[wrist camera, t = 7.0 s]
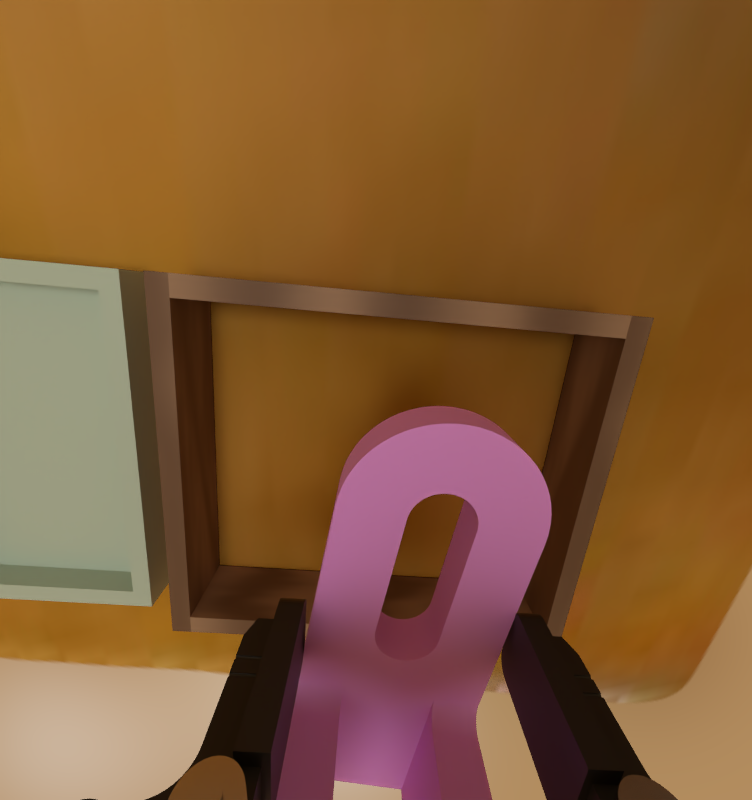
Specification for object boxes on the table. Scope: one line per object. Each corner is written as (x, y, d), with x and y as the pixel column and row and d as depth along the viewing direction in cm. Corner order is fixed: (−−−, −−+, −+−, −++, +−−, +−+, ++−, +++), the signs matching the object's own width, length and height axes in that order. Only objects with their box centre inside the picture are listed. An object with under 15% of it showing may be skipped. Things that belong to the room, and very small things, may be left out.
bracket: (434, 744, 13) (495, 1190, 7) (287, 724, 13) (197, 1173, 6) (556, 428, 10) (937, 704, 3) (359, 386, 10) (328, 599, 3)
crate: (597, 314, 20) (654, 317, 16) (527, 595, 25) (557, 650, 21) (190, 276, 19) (143, 270, 15) (204, 576, 24) (172, 630, 20)
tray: (150, 273, 19) (118, 268, 16) (173, 575, 24) (151, 606, 21) (-92, 250, 18) (-163, 243, 16) (-15, 564, 23) (-60, 595, 21)
